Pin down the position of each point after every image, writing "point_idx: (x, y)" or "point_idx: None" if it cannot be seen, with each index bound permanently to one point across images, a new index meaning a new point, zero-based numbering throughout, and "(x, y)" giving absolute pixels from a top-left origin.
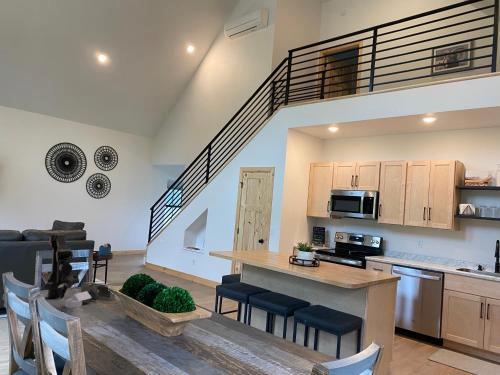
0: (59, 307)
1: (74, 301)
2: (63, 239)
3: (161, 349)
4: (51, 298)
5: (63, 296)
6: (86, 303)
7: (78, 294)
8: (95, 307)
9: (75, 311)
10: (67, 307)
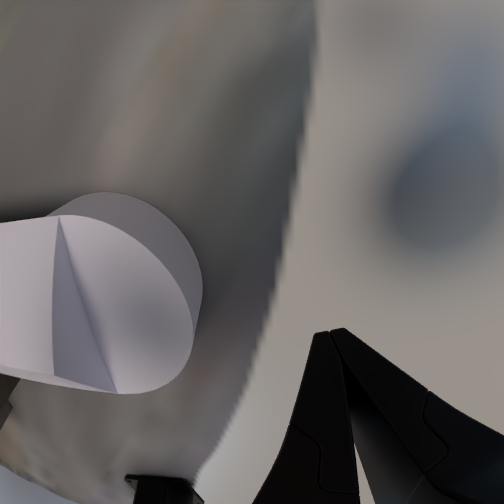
0: (256, 333)
1: (111, 252)
2: None
3: None
4: (188, 487)
5: (319, 351)
6: None
7: (11, 343)
8: (9, 44)
9: (227, 42)
10: (199, 270)
